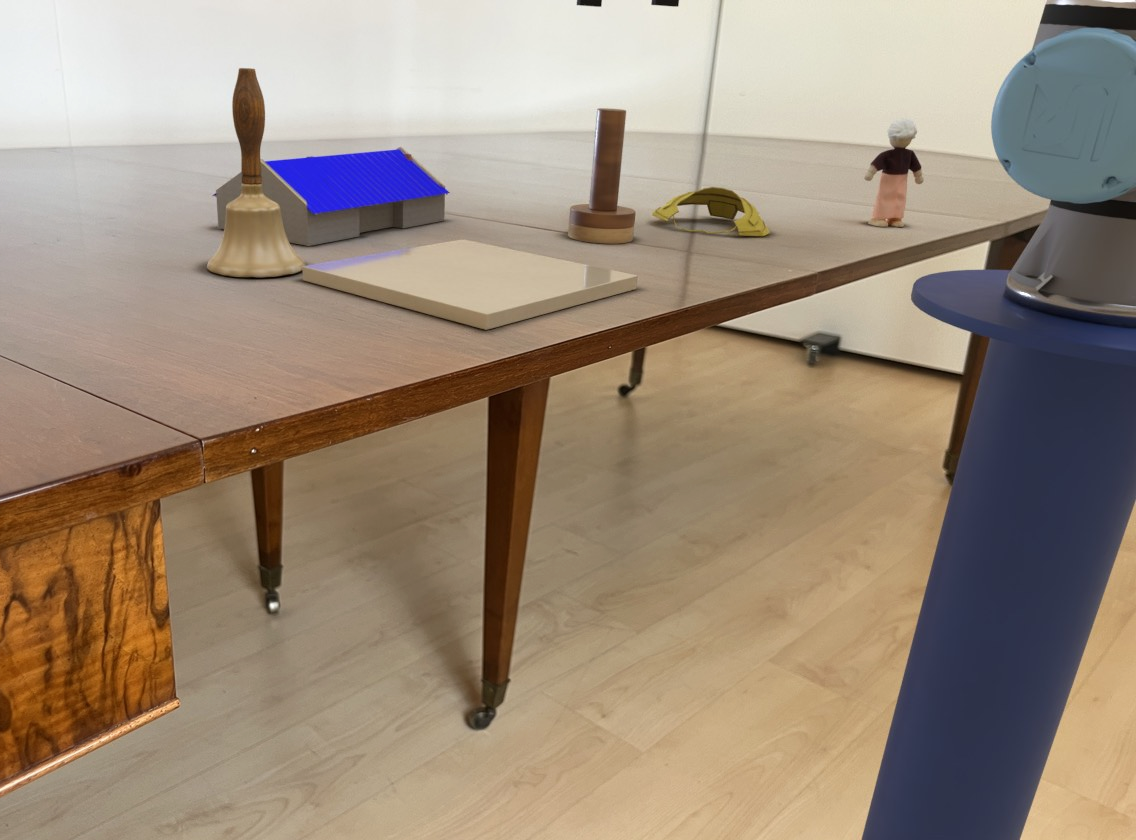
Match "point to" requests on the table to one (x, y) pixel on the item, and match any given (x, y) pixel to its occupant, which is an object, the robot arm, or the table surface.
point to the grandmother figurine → (894, 174)
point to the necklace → (718, 210)
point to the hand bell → (252, 200)
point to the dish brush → (604, 187)
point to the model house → (345, 194)
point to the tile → (471, 281)
